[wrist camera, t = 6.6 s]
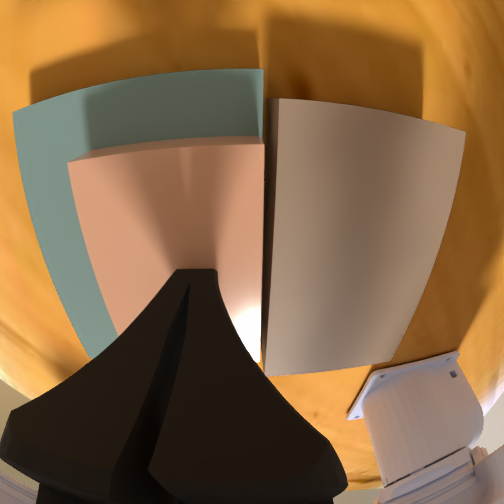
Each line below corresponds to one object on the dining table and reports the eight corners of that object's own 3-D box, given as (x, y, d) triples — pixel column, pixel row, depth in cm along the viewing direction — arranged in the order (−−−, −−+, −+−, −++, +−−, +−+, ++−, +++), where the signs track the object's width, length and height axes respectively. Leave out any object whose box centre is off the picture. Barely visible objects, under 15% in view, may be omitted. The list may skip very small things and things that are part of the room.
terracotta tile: (258, 135, 9) (264, 144, 7) (256, 332, 14) (259, 361, 12) (91, 149, 9) (67, 162, 7) (137, 332, 13) (129, 359, 12)
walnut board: (422, 119, 10) (466, 132, 7) (372, 324, 16) (390, 360, 14) (267, 97, 10) (279, 98, 7) (259, 333, 16) (264, 376, 13)
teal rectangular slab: (259, 72, 9) (263, 69, 8) (253, 345, 16) (255, 364, 15) (32, 107, 8) (12, 112, 7) (96, 340, 16) (89, 357, 14)
